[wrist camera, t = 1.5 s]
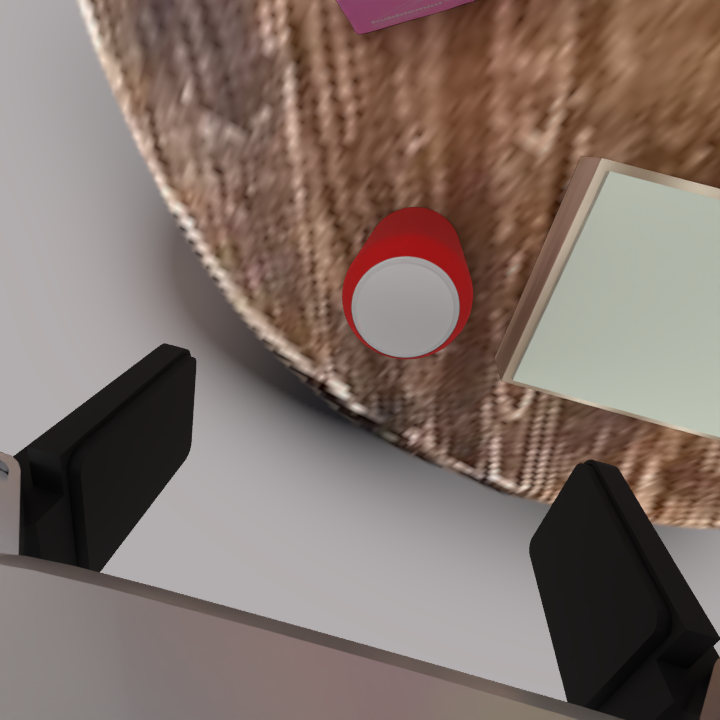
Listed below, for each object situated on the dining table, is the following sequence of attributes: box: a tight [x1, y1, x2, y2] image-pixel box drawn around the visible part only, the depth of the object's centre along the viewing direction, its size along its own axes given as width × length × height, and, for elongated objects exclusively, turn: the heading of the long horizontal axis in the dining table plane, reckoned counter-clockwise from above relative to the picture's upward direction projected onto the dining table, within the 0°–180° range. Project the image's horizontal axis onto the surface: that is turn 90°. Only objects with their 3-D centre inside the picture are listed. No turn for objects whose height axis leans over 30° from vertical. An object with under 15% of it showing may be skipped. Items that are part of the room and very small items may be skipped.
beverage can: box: [342, 207, 473, 359], centre depth 24 cm, size 6×6×12 cm
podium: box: [495, 156, 720, 441], centre depth 27 cm, size 18×14×4 cm
